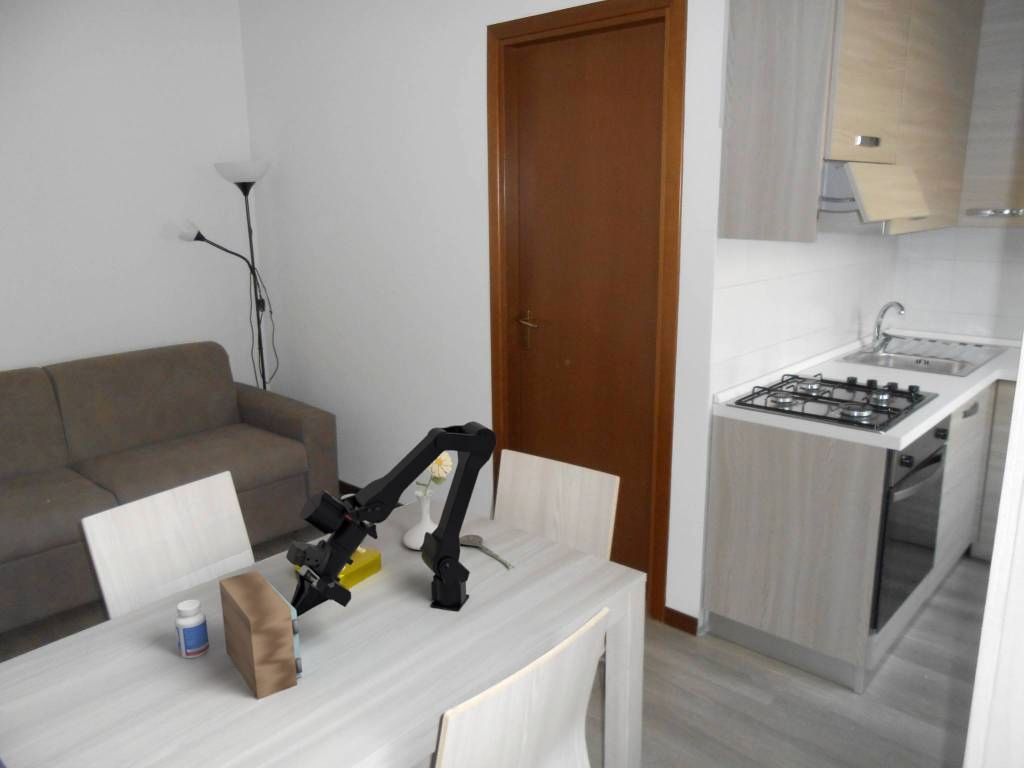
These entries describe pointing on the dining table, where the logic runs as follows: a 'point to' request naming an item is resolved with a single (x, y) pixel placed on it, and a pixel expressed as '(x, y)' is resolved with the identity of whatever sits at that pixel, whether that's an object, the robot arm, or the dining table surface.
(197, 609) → the pill bottle
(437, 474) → the flower in vase
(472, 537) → the soupspoon
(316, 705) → the dining table surface
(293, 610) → the door
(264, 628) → the cabinet
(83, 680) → the dining table surface
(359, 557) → the element tile
